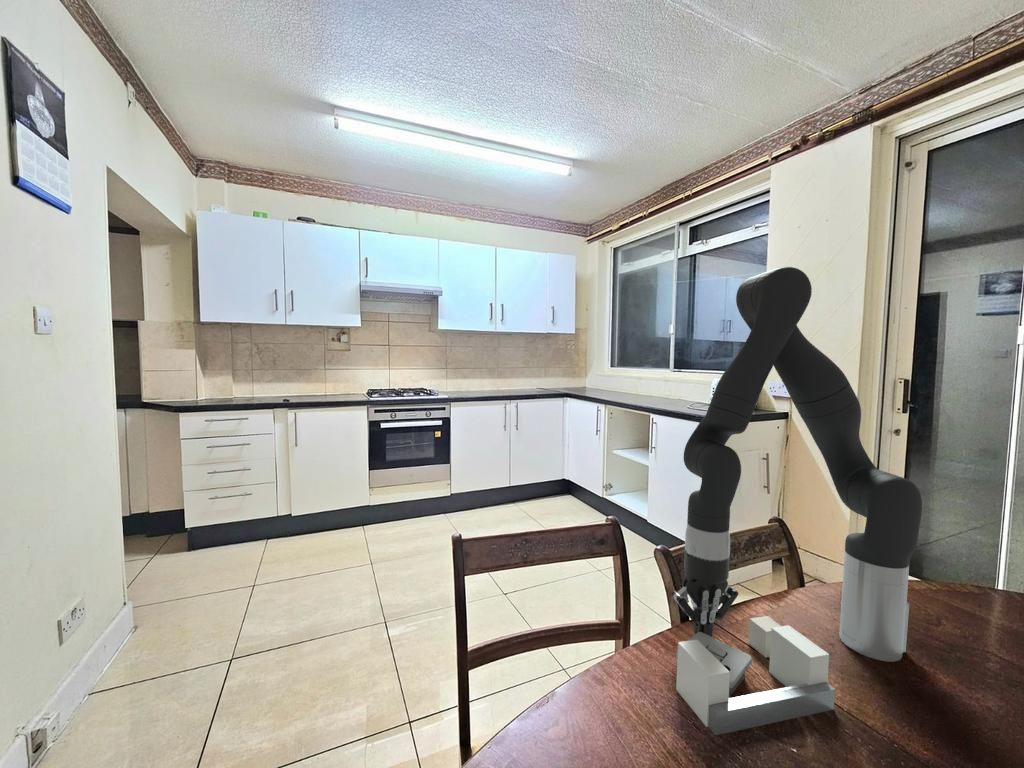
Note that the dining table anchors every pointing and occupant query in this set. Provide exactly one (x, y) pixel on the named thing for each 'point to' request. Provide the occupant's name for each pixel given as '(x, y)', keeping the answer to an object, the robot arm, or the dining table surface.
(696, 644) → the block
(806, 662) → the block
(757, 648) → the block
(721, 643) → the electrical switch
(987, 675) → the dining table surface
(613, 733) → the dining table surface
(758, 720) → the grey rectangular bar
